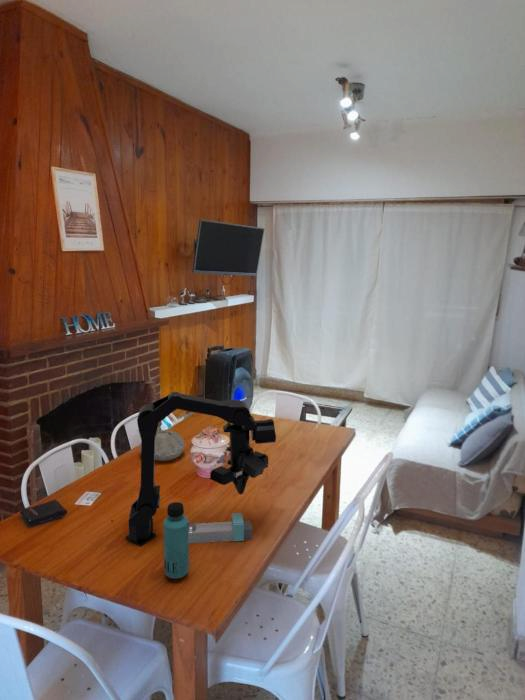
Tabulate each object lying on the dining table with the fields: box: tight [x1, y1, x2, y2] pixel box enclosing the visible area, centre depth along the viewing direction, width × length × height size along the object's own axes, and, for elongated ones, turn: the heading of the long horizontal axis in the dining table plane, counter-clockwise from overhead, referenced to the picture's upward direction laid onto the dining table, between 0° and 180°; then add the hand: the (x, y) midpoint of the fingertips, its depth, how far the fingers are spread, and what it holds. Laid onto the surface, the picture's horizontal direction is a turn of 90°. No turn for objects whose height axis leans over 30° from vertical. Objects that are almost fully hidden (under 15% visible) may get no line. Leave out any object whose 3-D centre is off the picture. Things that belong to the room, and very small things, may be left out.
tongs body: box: [188, 522, 253, 545], centre depth 138 cm, size 20×4×4 cm, turn 98°
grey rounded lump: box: [139, 429, 186, 462], centre depth 192 cm, size 18×18×10 cm
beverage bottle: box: [162, 501, 190, 579], centre depth 120 cm, size 6×7×20 cm
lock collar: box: [231, 512, 245, 542], centre depth 139 cm, size 3×6×5 cm, turn 8°
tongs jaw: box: [194, 520, 252, 528], centre depth 140 cm, size 18×2×3 cm, turn 98°
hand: (240, 493), depth 140 cm, fingers closed
